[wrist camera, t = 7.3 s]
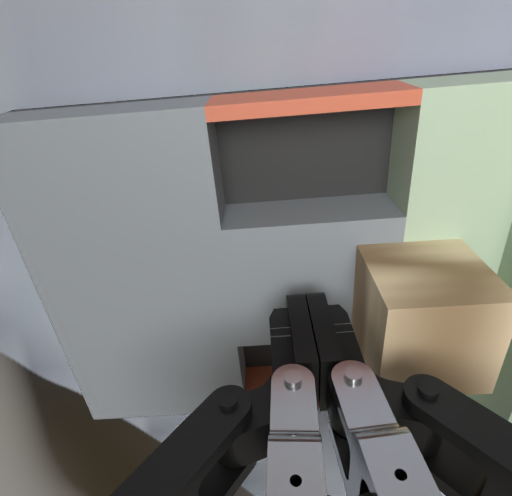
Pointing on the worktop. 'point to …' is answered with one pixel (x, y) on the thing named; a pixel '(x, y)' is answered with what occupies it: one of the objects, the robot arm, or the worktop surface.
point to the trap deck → (241, 218)
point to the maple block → (431, 313)
